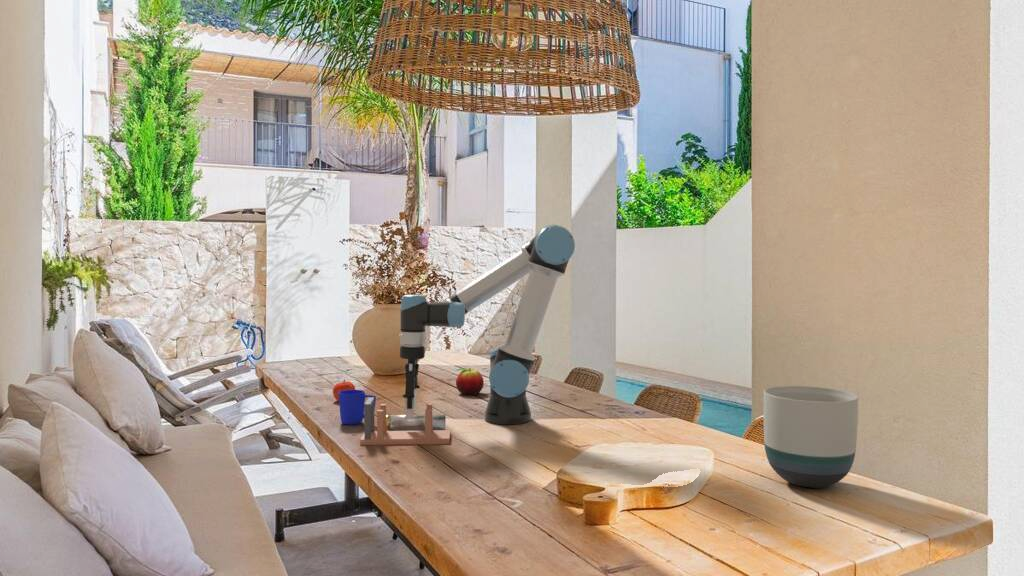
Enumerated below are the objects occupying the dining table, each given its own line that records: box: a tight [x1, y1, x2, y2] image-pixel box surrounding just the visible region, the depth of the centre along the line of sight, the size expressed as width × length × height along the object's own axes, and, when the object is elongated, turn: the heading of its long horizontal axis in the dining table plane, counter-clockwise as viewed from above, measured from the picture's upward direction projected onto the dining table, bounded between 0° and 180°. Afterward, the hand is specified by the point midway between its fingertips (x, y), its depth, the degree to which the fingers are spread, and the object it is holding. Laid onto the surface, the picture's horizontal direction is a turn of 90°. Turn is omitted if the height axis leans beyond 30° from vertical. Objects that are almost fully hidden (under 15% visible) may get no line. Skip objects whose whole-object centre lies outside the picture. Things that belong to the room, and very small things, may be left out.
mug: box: [338, 389, 377, 426], centre depth 233 cm, size 8×12×10 cm
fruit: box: [455, 367, 485, 396], centre depth 284 cm, size 11×11×10 cm
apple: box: [332, 379, 356, 402], centre depth 269 cm, size 8×8×8 cm
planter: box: [763, 385, 859, 489], centre depth 172 cm, size 20×20×21 cm
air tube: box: [386, 414, 447, 431], centre depth 223 cm, size 20×5×5 cm
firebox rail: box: [359, 397, 451, 446], centre depth 212 cm, size 25×10×12 cm, turn 94°
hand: (411, 414), depth 225 cm, fingers open, 13 cm apart
